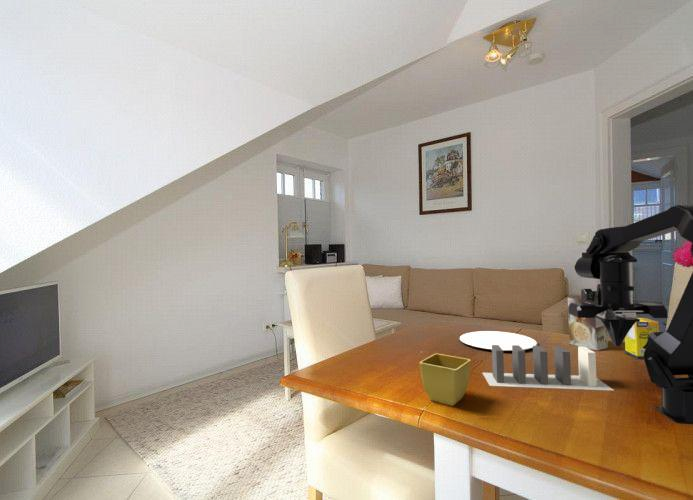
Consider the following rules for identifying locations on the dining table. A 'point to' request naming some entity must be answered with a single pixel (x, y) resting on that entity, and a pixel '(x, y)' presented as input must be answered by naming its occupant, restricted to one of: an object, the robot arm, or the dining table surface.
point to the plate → (497, 340)
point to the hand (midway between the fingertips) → (616, 346)
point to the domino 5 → (587, 366)
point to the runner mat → (552, 383)
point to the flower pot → (445, 377)
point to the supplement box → (639, 337)
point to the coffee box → (586, 330)
